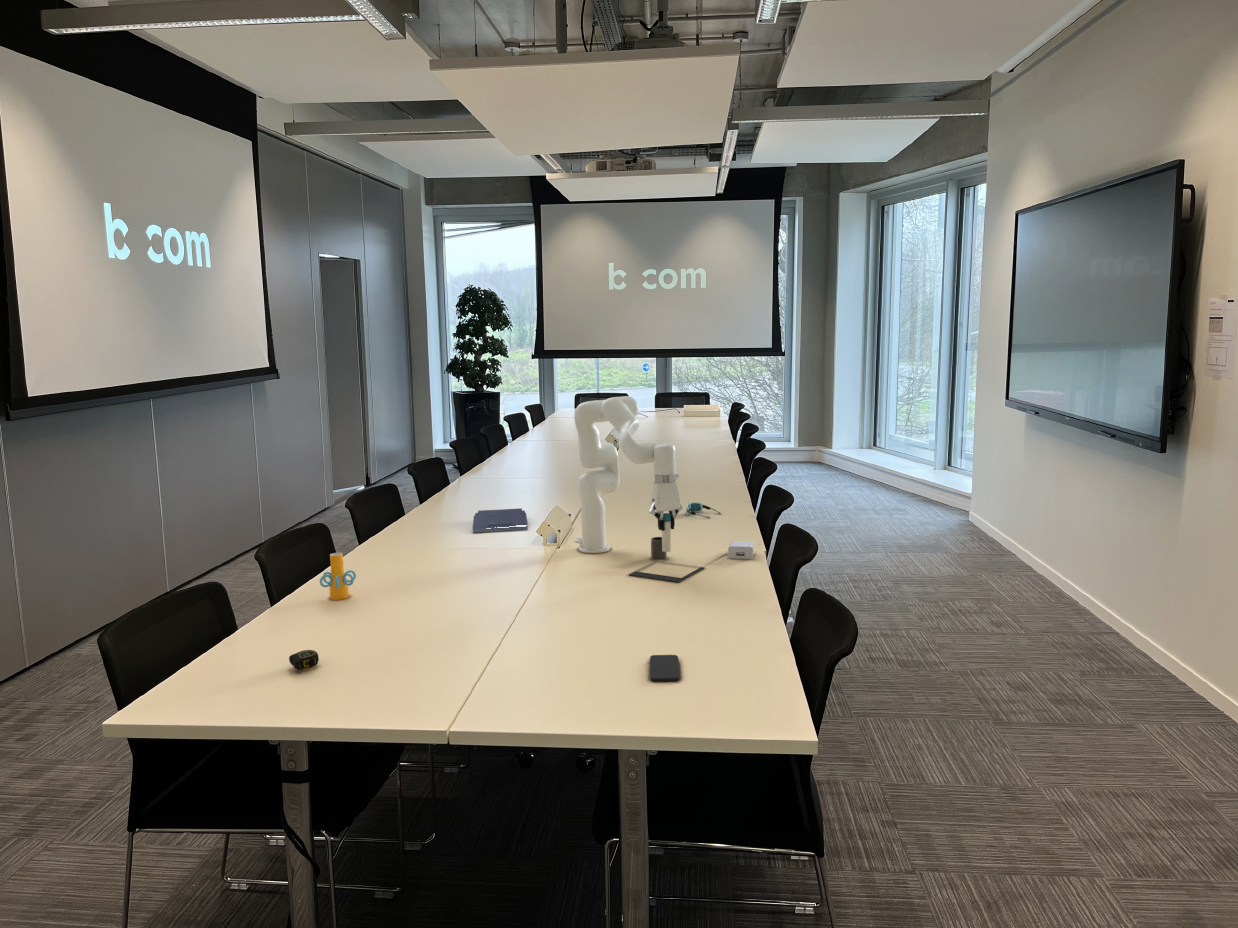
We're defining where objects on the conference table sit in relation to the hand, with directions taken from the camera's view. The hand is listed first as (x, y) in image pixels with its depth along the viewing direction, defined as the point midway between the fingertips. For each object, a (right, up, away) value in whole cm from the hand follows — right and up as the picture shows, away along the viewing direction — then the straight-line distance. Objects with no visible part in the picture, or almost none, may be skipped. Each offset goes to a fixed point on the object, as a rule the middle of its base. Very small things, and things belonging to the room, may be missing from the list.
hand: (666, 528), depth 304 cm
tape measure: (-101, -31, -78) cm, 131 cm away
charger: (+31, -12, +25) cm, 41 cm away
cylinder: (-111, -22, -18) cm, 114 cm away
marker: (0, -8, +1) cm, 8 cm away
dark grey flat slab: (-71, -5, +86) cm, 112 cm away
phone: (-5, -30, -86) cm, 91 cm away
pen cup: (-2, -13, +20) cm, 24 cm away
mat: (0, -16, +3) cm, 16 cm away
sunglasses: (+22, -1, +96) cm, 98 cm away
